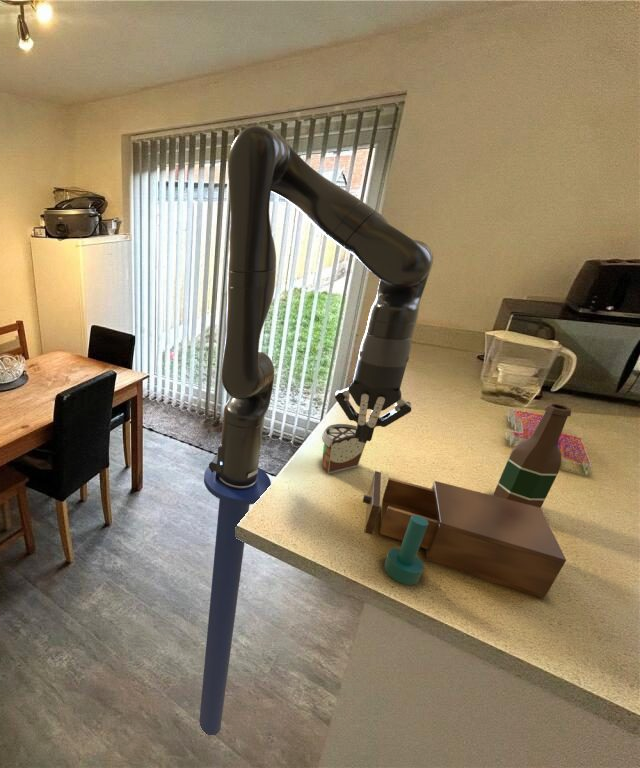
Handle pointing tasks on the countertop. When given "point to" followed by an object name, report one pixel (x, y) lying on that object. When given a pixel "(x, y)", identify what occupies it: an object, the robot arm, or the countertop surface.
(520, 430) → the pink sprinkled snack box
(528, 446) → the beer bottle
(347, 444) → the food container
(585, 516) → the countertop surface
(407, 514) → the drawer
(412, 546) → the teal flanged rod post
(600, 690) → the countertop surface
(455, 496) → the cabinet
